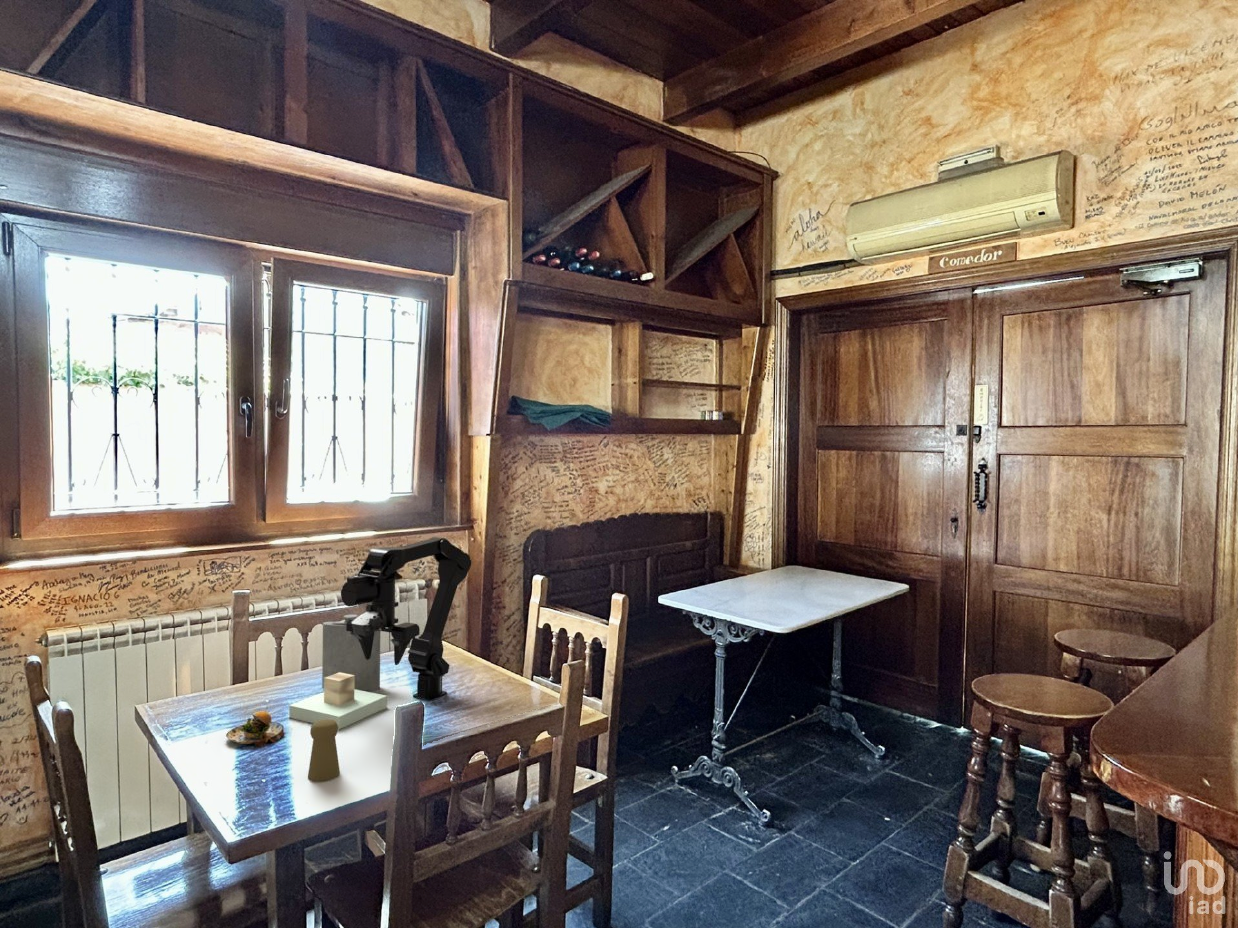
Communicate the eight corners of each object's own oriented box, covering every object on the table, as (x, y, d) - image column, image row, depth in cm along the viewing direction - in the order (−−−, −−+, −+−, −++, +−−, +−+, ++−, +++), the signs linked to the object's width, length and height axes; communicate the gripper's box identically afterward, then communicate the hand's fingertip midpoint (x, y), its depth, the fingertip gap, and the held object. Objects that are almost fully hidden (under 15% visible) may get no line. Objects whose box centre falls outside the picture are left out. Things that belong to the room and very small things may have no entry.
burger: (228, 732, 170) (228, 700, 170) (284, 725, 175) (284, 694, 174) (223, 752, 159) (223, 718, 159) (283, 745, 164) (283, 711, 163)
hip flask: (381, 686, 203) (382, 614, 202) (375, 691, 199) (376, 617, 198) (325, 684, 204) (326, 612, 203) (318, 689, 200) (319, 615, 199)
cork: (313, 768, 152) (313, 715, 151) (343, 768, 152) (344, 715, 152) (303, 782, 146) (303, 727, 145) (334, 781, 146) (335, 726, 146)
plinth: (339, 697, 194) (339, 685, 193) (386, 707, 187) (386, 695, 187) (289, 717, 179) (289, 705, 179) (339, 729, 172) (339, 716, 172)
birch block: (339, 695, 186) (339, 672, 186) (354, 698, 184) (354, 675, 184) (323, 701, 182) (324, 677, 181) (339, 705, 180) (339, 680, 179)
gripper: (329, 601, 178) (328, 665, 179) (389, 609, 171) (389, 676, 171) (363, 593, 188) (362, 653, 189) (421, 600, 181) (420, 664, 181)
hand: (382, 661), depth 182 cm, fingers open, 9 cm apart
